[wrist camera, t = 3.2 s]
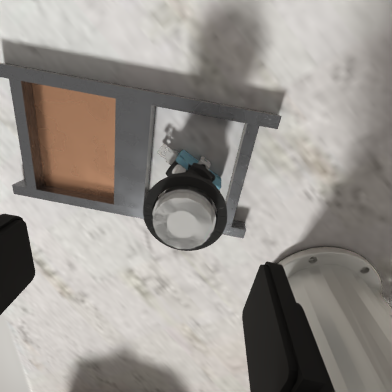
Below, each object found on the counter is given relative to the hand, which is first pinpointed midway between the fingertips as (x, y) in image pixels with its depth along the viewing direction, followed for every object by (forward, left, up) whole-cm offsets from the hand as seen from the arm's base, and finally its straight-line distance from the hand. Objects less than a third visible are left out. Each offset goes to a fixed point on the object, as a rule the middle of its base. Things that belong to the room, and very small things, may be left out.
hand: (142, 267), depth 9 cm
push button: (0, 0, -15) cm, 15 cm away
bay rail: (+5, 0, -15) cm, 15 cm away
